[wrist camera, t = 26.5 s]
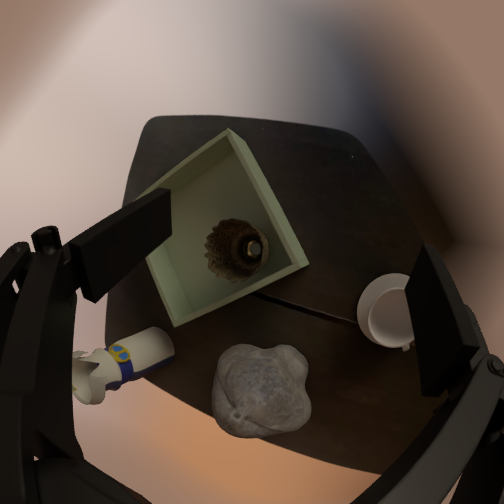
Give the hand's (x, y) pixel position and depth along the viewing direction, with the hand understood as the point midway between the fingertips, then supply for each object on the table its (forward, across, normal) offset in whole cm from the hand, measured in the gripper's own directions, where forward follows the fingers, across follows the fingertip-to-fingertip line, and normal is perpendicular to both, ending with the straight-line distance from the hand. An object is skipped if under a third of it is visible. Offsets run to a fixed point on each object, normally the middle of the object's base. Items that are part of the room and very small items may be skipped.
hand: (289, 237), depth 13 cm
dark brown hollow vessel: (+21, -6, -14) cm, 26 cm away
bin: (+23, -13, -14) cm, 30 cm away
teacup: (+18, +14, -16) cm, 28 cm away
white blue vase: (+15, -21, -35) cm, 43 cm away
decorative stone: (+14, +1, -29) cm, 32 cm away
